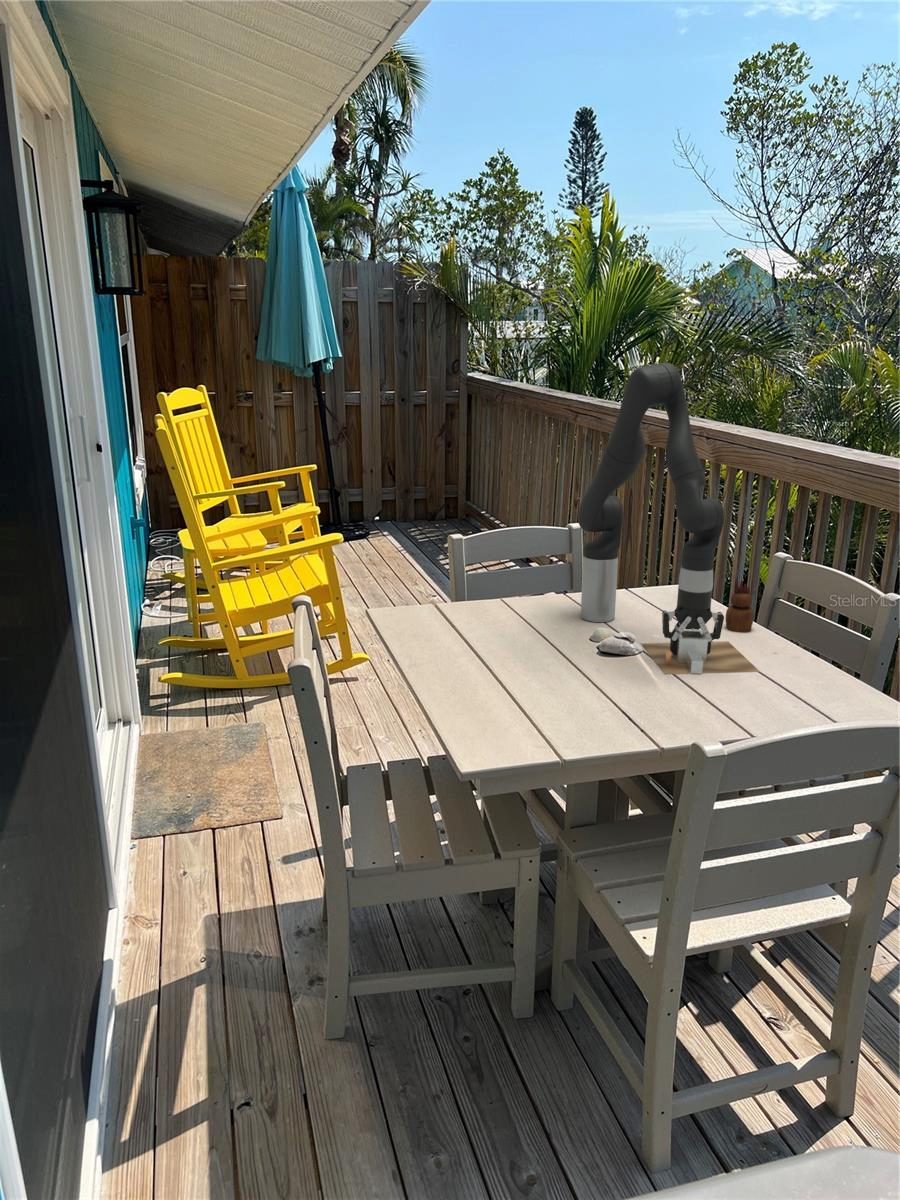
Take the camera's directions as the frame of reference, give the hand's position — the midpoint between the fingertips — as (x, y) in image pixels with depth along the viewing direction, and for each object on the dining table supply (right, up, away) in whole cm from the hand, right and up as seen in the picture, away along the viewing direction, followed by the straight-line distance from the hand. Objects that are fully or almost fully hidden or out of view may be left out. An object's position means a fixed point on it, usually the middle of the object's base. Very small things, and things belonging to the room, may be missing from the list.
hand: (689, 654), depth 208 cm
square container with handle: (0, -2, -3) cm, 3 cm away
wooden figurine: (+18, +4, +21) cm, 28 cm away
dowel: (-6, -2, -3) cm, 7 cm away
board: (+2, -2, +2) cm, 4 cm away
